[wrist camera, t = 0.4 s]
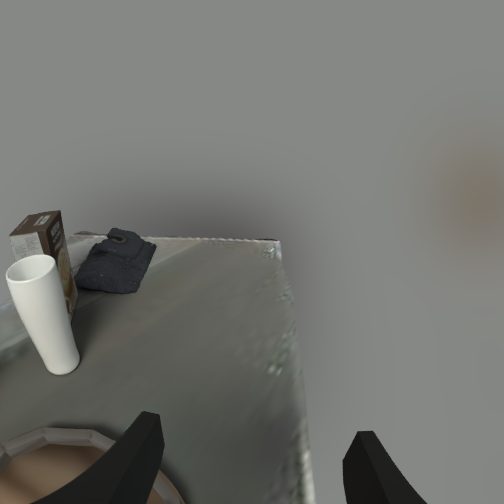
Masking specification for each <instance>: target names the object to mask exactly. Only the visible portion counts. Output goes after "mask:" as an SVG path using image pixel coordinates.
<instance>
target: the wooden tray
mask: <svg viewBox="0 0 504 504" xmlns="http://www.w3.org/2000/svg"><path fill="white" fill-rule="evenodd" d="M115 442H116V441H114V440H112V439H110V438H108V437H106V436H104V435H102V434H100V433H98V432H96V431H94V430H90V429H64V428H49V427H42V428H39V429H37V430H34V431H32V432H30V433H27V434H25V435H22V436H20V437H17V438H14V439H12V440H9V441H7V442H4V443H1V444H0V504H30V503H32V502H34V501H37V500H39V499H41V498H43V497H45V496H47V495H49V494H51V493H53V492H54V491H56V490H58V489H59V488H61V487H63V486H64V485H66V484H67V483H69V482H70V481H72V480H73V479H75V478H76V477H77V476H79V475H80V474H81V473H83V472H84V471H85V470H86V469H88V468H89V467H90V466H91V465H92V464H93V463H95V462H96V461H97V460H98V459H99V458H100V457H101V456H102V455H103V454H104V453H105V452H106V451H108V450H109V448H110V447H111V446H112V445H113V444H114V443H115ZM146 504H185V502H184V501H183V499H182V497H181V496H180V494H179V492H178V491H177V489H176V488H175V487H174V485H173V484H172V483H171V481H170V480H169V479H168V478H167V477H166V476H165V475H164V474H163V473H162V471H161V470H160V469H159V471H158V474H157V476H156V479H155V482H154V484H153V487H152V490H151V492H150V495H149V498H148V500H147V503H146Z"/></svg>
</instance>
